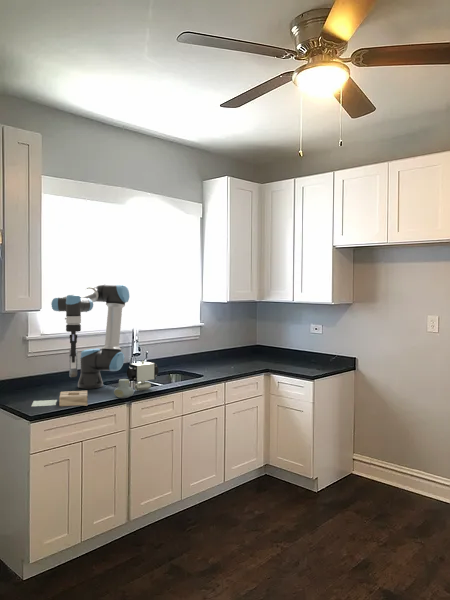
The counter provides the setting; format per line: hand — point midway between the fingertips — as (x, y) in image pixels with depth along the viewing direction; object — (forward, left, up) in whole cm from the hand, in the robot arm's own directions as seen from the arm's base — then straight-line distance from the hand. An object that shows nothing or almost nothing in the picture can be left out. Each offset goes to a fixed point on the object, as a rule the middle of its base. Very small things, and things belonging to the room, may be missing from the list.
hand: (73, 367), depth 267 cm
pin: (0, 0, -5) cm, 5 cm away
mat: (-2, -15, -19) cm, 25 cm away
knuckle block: (0, 0, -19) cm, 19 cm away
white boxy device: (-24, +39, -20) cm, 50 cm away
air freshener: (-8, +27, -20) cm, 34 cm away
